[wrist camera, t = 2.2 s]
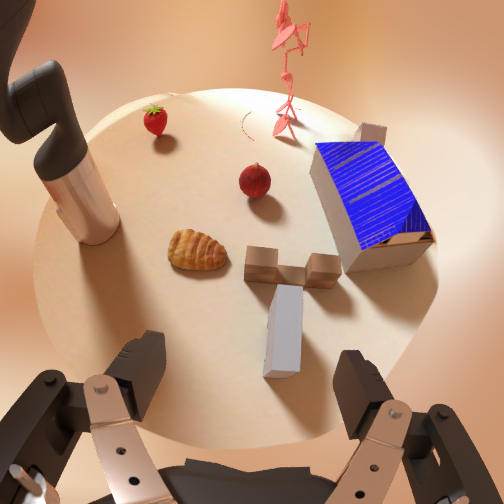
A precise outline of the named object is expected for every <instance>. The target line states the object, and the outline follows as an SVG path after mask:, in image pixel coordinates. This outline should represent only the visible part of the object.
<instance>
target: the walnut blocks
mask: <svg viewBox="0 0 504 504" xmlns="http://www.w3.org/2000/svg"><path fill="white" fill-rule="evenodd" d="M277 262H278V249H273V248H264V247H255V246H247V251H246V259H245V270H244V281H252V282H262V283H271V284H281V285H291V286H302V287H312V288H324V289H331V288H332V286H333V285H334V284H335V282H336V281H337V280H338V278H339V277H340V276H341V274H342V270H341V256H335V255H326V254H318V253H312V254H311V256H310V258H309V260H308V262H307V264H306V266H305V268H303V267H293V266H284V265H277Z"/></svg>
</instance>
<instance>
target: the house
mask: <svg viewBox="0 0 504 504" xmlns="http://www.w3.org/2000/svg"><path fill="white" fill-rule="evenodd" d="M315 145H317V147H316V151H315V154H314V158H313V162H312V165H311V169H310V172H309V173H310V175H311V178H312V180H313V183H314V185H315V188H316V191H317V193H318V196H319V198H320V201H321V204H322V207H323V209H324V212H325V215H326V218H327V220H328V223H329V226H330V229H331V232H332V235H333V238H334V241H335V244H336V247H337V250H338V253H339V256H341V263H342V266H343V269H344V272H345V274H347V273H355V272H362V271H369V270H376V269H383V268H390V267H396V266H403V265H409V264H413V263H414V262H415V261H416V260H417V259H418V258H419V257H420V256H421V255H422V254H423V253H424V252H425V251H426V250H427V249H428V248H429V247H430V246H431V245H432V244H433V243H434V242H435V239H434V237H433V234H432V231H431V229H430V227H429V225H428V223H427V220H426V218H425V216H424V214H423V212H422V210H421V208H420V206H419V204H418V202H417V200H416V198H415V196H414V195H413V193H412V191H411V190H410V188H409V186H408V184H407V183H406V181H405V179H404V178H403V176H402V175H401V173H400V171H399V170H398V168H397V167H396V165H395V164H394V162H393V161H392V159H391V158H390V156H389V155H388V153H387V152H386V150H385V149H384V147H383V146H382V144H381V143H380V142H379V141H357V142H328V143H315ZM385 240H389V241H388V242H387V243H385V244H379V243H381V242H383V241H385ZM433 240H434V241H433ZM435 244H436V242H435Z"/></svg>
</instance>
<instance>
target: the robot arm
mask: <svg viewBox="0 0 504 504" xmlns="http://www.w3.org/2000/svg"><path fill="white" fill-rule="evenodd" d="M35 3H36V0H0V131H1V132H2V133H3V134H4V136H5V137H6V138H7V139H9V141H11V142H12V143H15V144H21V143H24V142H26V141H28V140H29V139H31V138H32V137H34V136H36V135H37V134H39V133H40V132H42V131H43V130H44V129H46V128H48V127H49V126H51V125H52V124H54V123H56V126H55V128H54V130H53V131H52V133H51V135H50V136H49V137H48V138H47V140H46V141H45V142H44V143H43V145H42V146H41V147H40V148H39V150H38V152H37V153H36V155H35V158H34V168H35V171H36V173H37V174H38V176H39V178H40V179H41V181H42V182H43V184H44V186H45V187H46V189H47V190H48V192H49V193H50V195H51V197H52V198H53V200H54V201H55V203H56V204H57V210H56V212H57V214H58V216H59V217H60V219H61V220H62V221H63V223H64V224H65V225H66V227H67V228H68V229H69V231H70V232H71V233H72V235H73V236H74V237H75V239H76V240H77V241H78V242H79V243H80V242H84V243H86V244H88V245H98V244H101V243H103V242H105V241H106V240H108V239H109V238H110V237H111V236H112V235H113V234H114V233H115V232H116V230H117V228H118V226H119V221H120V217H119V214H118V211H117V209H116V207H115V205H114V203H113V201H112V199H111V197H110V195H109V193H108V191H107V189H106V187H105V184H104V182H103V180H102V178H101V176H100V173H99V171H98V169H97V167H96V164H95V162H94V160H93V158H92V155H91V153H90V150H89V148H88V145H87V143H86V140H85V138H84V136H83V133H82V131H81V129H80V126H79V123H78V121H77V117H76V114H75V111H74V108H73V104H72V100H71V96H70V92H69V87H68V84H67V80H66V77H65V74H64V71H63V69H62V67H61V65H60V64H59V63H58V62H57V61H55V60H51V61H48V62H46V63H44V64H43V65H40V66H39V67H37V68H35V69H33V70H32V71H30V72H28V73H27V74H25V75H24V76H22V77H20V78H19V79H17V80H16V81H15V82H13V83H11V84H9V85H8V76H9V71H10V67H11V64H12V61H13V59H14V56H15V54H16V51H17V49H18V46H19V44H20V42H21V39H22V37H23V35H24V32H25V30H26V28H27V26H28V23H29V21H30V18H31V15H32V13H33V10H34V7H35ZM165 368H166V351H165V337H164V333H161V332H155V331H150V330H147V331H146V332H145V333H144V335H143V336H142V338H141V339H136V338H135V339H133V340H132V341H130V342H128V343H127V344H126V345H125V346H124V348H123V349H122V351H121V352H120V353H119V354H118V357H116V358H115V359H114V361H113V362H112V363H111V365H110V366H109V367H108V369H107V370H106V371H105V373H104V374H103V375H95V376H92V377H90V378H88V379H87V380H86V381H85V383H74V382H67V381H66V378H65V376H64V374H63V373H62V372H60V371H58V370H46V371H43V372H41V373H40V374H39V375H38V376H37V377H36V378H35V379H34V381H33V382H32V383H31V384H30V385H29V386H28V388H27V389H26V390H25V391H24V392H23V394H22V395H21V396H20V397H19V398H18V400H17V401H16V402H15V403H14V405H13V406H12V407H11V408H10V410H9V411H8V412H7V413H6V415H5V416H4V417H3V419H2V420H1V421H0V504H60V498H59V495H58V493H57V491H56V490H55V487H56V485H57V483H58V481H59V478H60V476H61V474H62V472H63V470H64V468H65V466H66V464H67V462H68V459H69V458H70V455H71V454H72V452H73V449H74V448H75V446H76V444H77V442H78V440H79V438H80V436H81V434H82V432H89V433H91V434H92V437H93V441H94V444H95V448H96V451H97V454H98V457H99V460H100V463H101V466H102V469H103V472H104V475H105V477H106V480H107V483H108V485H109V488H110V490H111V494H109V495H107V496H105V497H103V498H100V499H98V500H96V501H93V502H91V503H89V504H382V502H383V500H384V498H385V495H386V494H387V492H388V489H389V487H390V485H391V483H392V480H393V478H394V476H395V474H396V471H397V469H398V466H399V464H400V461H401V459H402V462H403V465H404V468H405V471H406V474H407V476H408V480H409V483H410V486H411V489H412V493H413V496H414V499H415V502H416V504H503V502H502V499H501V497H500V495H499V493H498V490H497V488H496V486H495V484H494V482H493V480H492V478H491V476H490V474H489V472H488V470H487V468H486V466H485V464H484V462H483V460H482V458H481V457H480V455H479V453H478V451H477V449H476V447H475V446H474V444H473V442H472V440H471V439H470V437H469V435H468V433H467V432H466V430H465V428H464V427H463V425H462V423H461V422H460V420H459V418H458V417H457V416H456V414H455V412H454V411H453V409H452V408H450V407H449V406H447V405H444V404H435V405H433V406H432V407H431V408H430V409H429V411H428V412H427V413H419V412H412V411H411V409H410V407H409V406H408V405H407V404H406V403H404V402H402V401H399V400H395V399H394V398H393V396H392V394H391V392H390V390H389V389H388V387H387V385H386V383H385V381H383V378H382V376H381V375H380V373H379V371H378V369H377V367H376V366H375V365H374V364H372V363H371V362H370V361H369V360H365V359H364V358H363V356H362V354H361V352H360V351H359V350H343V351H342V352H341V355H340V358H339V361H338V364H337V367H336V371H335V374H334V377H333V389H334V392H335V395H336V398H337V402H338V405H339V408H340V411H341V414H342V417H343V421H344V424H345V427H346V430H347V434H348V437H349V439H350V440H352V439H359V440H360V443H359V445H358V447H357V448H356V450H355V452H354V453H353V455H352V457H351V458H350V460H349V462H348V463H347V465H346V466H345V468H344V470H343V471H342V473H341V474H340V476H339V477H338V478H337V480H336V481H335V482H333V481H331V480H329V479H327V478H324V477H321V476H317V475H312V474H311V473H310V467H281V468H275V469H269V470H263V471H256V472H243V471H240V470H237V469H233V468H230V467H227V466H224V465H221V464H218V463H212V462H205V461H198V460H193V459H188V458H186V461H185V465H184V466H172V467H166V468H163V469H159V470H156V468H155V466H154V464H153V462H152V460H151V458H150V456H149V454H148V452H147V450H146V448H145V446H144V444H143V442H142V440H141V438H140V435H139V433H138V431H137V429H136V426H135V424H134V422H133V420H136V421H139V422H142V420H143V417H144V415H145V413H146V411H147V409H148V406H149V404H150V402H151V400H152V398H153V396H154V394H155V391H156V389H157V387H158V385H159V383H160V381H161V379H162V377H163V374H164V372H165ZM434 448H435V449H436V451H437V453H438V456H439V458H440V466H439V465H438V463H437V460H436V458H435V456H434V454H433V450H434Z"/></svg>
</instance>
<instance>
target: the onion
mask: <svg viewBox="0 0 504 504" xmlns="http://www.w3.org/2000/svg"><path fill="white" fill-rule="evenodd" d="M270 184H271V178H270V175H269V173H268V171H267V170H266V169H265V168H264V167H262V166H260V165H258V162H255V163H254V164H253V165H251V166H249V167H247V168H246V169H245V170H243V171H242V173H241V175H240V178H239V185H240V189H241V190H242V191H243V193H244V194H246V195H247V196H249V197H253V198H257V197H261V196H264V195H265V194H266V193H267V192H268V190H269V189H270Z"/></svg>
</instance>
